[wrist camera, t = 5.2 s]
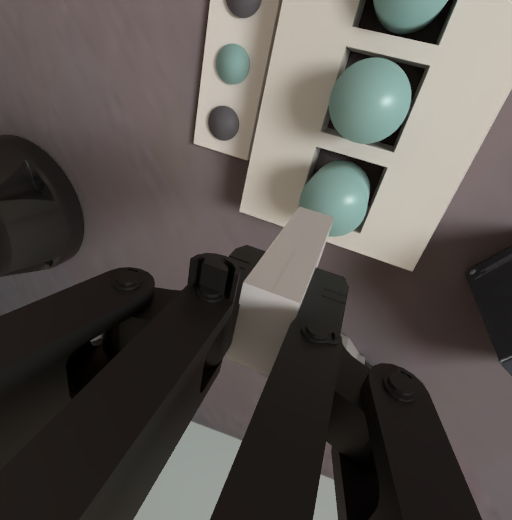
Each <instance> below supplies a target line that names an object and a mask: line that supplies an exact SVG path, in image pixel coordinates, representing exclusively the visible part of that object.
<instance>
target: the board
mask: <svg viewBox="0 0 512 520" xmlns="http://www.w3.org/2000/svg"><path fill="white" fill-rule="evenodd" d="M365 3H366V0H283V1H282V6H281V11H280V15H279V20H278V25H277V30H276V35H275V40H274V45H273V50H272V54H271V59H270V64H269V69H268V74H267V79H266V84H265V89H264V94H263V98H262V103H261V108H260V113H259V118H258V123H257V128H256V133H255V137H254V142H253V147H252V152H251V157H250V162H249V167H248V172H247V176H246V181H245V186H244V191H243V196H242V201H241V206H240V211H239V212H242V213H245V214H248V215H251V216H254V217H257V218H260V219H262V220H265V221H268V222H271V223H274V224H277V225H280V226H283V227H285V225H286V224H287V223H288V221H289V220H290V218H291V217H292V216H293V214H294V213H295V212H296V210H297V209H298V208H299V200H300V195H301V193H302V190H303V188H304V187H305V185H306V184H307V183H308V182H309V181H310V179H311V178H312V175H313V172H314V169H315V166H316V162H317V159H318V156H319V153H320V149H321V148H323V149H326V150H330V151H333V152H336V153H340V154H343V155H347V156H350V157H353V158H357V159H360V160H364V161H367V162H370V163H374V164H377V165H381V166H384V167H385V168H384V170H383V173H382V175H381V177H380V180H379V182H378V185H377V187H376V189H375V192H374V194H373V197H372V199H371V202H370V204H369V206H368V209H367V211H366V214H365V217H364V219H363V221H362V222H361V224H360V225H359V226H358V227H357V228H356V229H355V230H353V231H352V232H350V233H348V234H345V235H342V236H336V237H330V236H328V238H327V241H326V242H329V243H331V244H334V245H337V246H340V247H343V248H346V249H349V250H352V251H354V252H357V253H360V254H363V255H366V256H369V257H372V258H375V259H377V260H380V261H383V262H386V263H389V264H392V265H395V266H398V267H400V268H403V269H406V270H409V271H412V272H413V270H414V268H415V266H416V264H417V262H418V260H419V259H420V257H421V255H422V253H423V251H424V249H425V248H426V246H427V244H428V242H429V240H430V238H431V237H432V235H433V233H434V231H435V229H436V227H437V225H438V224H439V222H440V220H441V218H442V216H443V214H444V213H445V211H446V209H447V207H448V205H449V203H450V201H451V200H452V198H453V196H454V194H455V192H456V190H457V189H458V187H459V185H460V183H461V181H462V179H463V177H464V176H465V174H466V172H467V170H468V168H469V166H470V165H471V163H472V161H473V159H474V157H475V155H476V154H477V152H478V150H479V148H480V146H481V144H482V142H483V141H484V139H485V137H486V135H487V133H488V131H489V130H490V128H491V126H492V124H493V122H494V120H495V118H496V117H497V115H498V113H499V111H500V109H501V107H502V106H503V104H504V102H505V100H506V98H507V96H508V94H509V93H510V91H511V89H512V0H454V1H453V3H452V6H451V8H450V10H449V13H448V15H447V18H446V20H445V22H444V25H443V27H442V30H441V32H440V35H439V37H438V39H437V42H436V44H435V45H434V44H429V43H425V42H420V41H416V40H411V39H407V38H402V37H398V36H393V35H388V34H384V33H379V32H375V31H370V30H366V29H361V28H358V25H359V22H360V19H361V16H362V12H363V9H364V6H365ZM351 51H352V52H356V53H360V54H364V55H369V56H373V57H377V58H384V59H388V60H390V61H394V62H398V63H403V64H407V65H411V66H416V67H420V68H424V69H425V71H424V73H423V76H422V78H421V81H420V83H419V85H418V88H417V90H416V93H415V95H414V97H413V100H412V102H411V105H410V108H409V110H408V113H407V115H406V117H405V119H404V122H403V124H402V127H401V129H400V131H399V134H398V136H397V139H396V141H395V143H394V146H390V145H387V144H383V143H380V142H375V143H370V144H360V143H355V142H352V141H349V140H347V139H346V138H344V137H343V136H341V135H340V134H339V133H338V131H337V130H334V129H330V128H327V127H328V123H329V120H330V114H329V99H330V95H331V91H332V89H333V86H334V84H335V82H336V81H337V79H338V78H339V76H340V75H341V74H342V73H343V72H344V71H345V68H346V65H347V61H348V58H349V55H350V52H351Z"/></svg>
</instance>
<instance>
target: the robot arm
mask: <svg viewBox="0 0 512 520" xmlns="http://www.w3.org/2000/svg"><path fill="white" fill-rule="evenodd" d="M333 220H334V217H332V216H329V215H325V214H322V213H319V212H316V211H313V210H309V209H306V208H303V207H300V206H299V208H298V209H297V210H296V212H295V213H294V214H293V216H292V217H291V218H290V220H289V221H288V223H287V224H286V225H285V227H284V228H283V229H282V231H281V232H280V233H279V235H278V236H277V237H276V239H275V240H274V241H273V243H272V244H271V246H270V247H269V248H268V250H267V251H263V250H260V249H257V248H254V247H251V246H248V245H245V246H242V247H239V248H237V249H235V250H234V251H233V252H232V253H231V254H230V255H229V257H226V256H223V255H219V254H213V253H204V254H199V255H196V256H194V257H192V258H191V259H190V267H189V276H188V285H187V286H186V287H185V288H184V289H183V290H169V289H163V288H156V287H154V286H155V282H154V278H153V276H151V275H150V274H149V273H148V272H146V271H144V270H141V269H138V268H131V267H127V268H118V269H114V270H110V271H108V272H105V273H103V274H101V275H98V276H96V277H93V278H91V279H89V280H86V281H84V282H81V283H79V284H76V285H74V286H72V287H69V288H67V289H64V290H62V291H60V292H57V293H55V294H52V295H50V296H47V297H45V298H43V299H40V300H38V301H35V302H33V303H31V304H28V305H26V306H23V307H21V308H19V309H16V310H14V311H11V312H9V313H6V314H4V315H2V316H0V520H133V519H134V517H135V516H136V514H137V512H138V510H139V509H140V507H141V505H142V504H143V502H144V500H145V498H146V497H147V495H148V493H149V491H150V490H151V488H152V486H153V485H154V483H155V481H156V480H157V478H158V476H159V474H160V473H161V471H162V469H163V468H164V466H165V464H166V463H167V461H168V459H169V457H170V456H171V454H172V452H173V451H174V449H175V447H176V445H177V444H178V442H179V440H180V439H181V437H182V435H183V433H184V432H185V430H186V428H187V426H188V425H189V423H190V421H191V420H192V418H193V416H194V415H195V413H196V411H197V409H198V408H199V406H200V404H201V403H202V401H203V399H204V397H205V396H206V394H207V392H208V391H209V389H210V387H211V385H212V384H213V382H214V380H215V379H216V377H217V375H218V373H219V371H220V368H221V364H222V359H223V357H224V355H225V354H226V352H227V350H228V349H229V351H228V355H227V359H228V360H231V361H233V362H236V363H238V364H240V365H243V366H245V367H248V368H250V369H252V370H255V371H257V372H259V373H262V374H264V375H267V376H269V377H268V380H267V382H266V384H265V387H264V389H263V392H262V394H261V397H260V399H259V401H258V404H257V406H256V409H255V411H254V414H253V416H252V419H251V421H250V423H249V426H248V428H247V431H246V433H245V436H244V438H243V441H242V443H241V445H240V448H239V450H238V453H237V455H236V458H235V460H234V463H233V465H232V467H231V470H230V472H229V475H228V478H227V480H226V482H225V484H224V487H223V489H222V492H221V494H220V497H219V499H218V502H217V504H216V506H215V509H214V511H213V514H212V516H211V519H210V520H313V515H314V509H315V503H316V497H317V491H318V485H319V479H320V474H321V468H322V462H323V456H324V450H325V444H326V441H327V442H328V443H329V444H331V445H332V449H331V453H332V463H333V473H334V483H335V493H336V502H337V511H338V520H482V518H481V516H480V513H479V511H478V509H477V506H476V504H475V502H474V499H473V497H472V494H471V492H470V490H469V487H468V485H467V483H466V480H465V478H464V475H463V473H462V471H461V468H460V466H459V464H458V461H457V459H456V456H455V454H454V452H453V449H452V447H451V444H450V442H449V440H448V437H447V435H446V433H445V430H444V428H443V425H442V423H441V421H440V418H439V416H438V414H437V411H436V409H435V406H434V404H433V402H432V399H431V397H430V395H429V393H428V391H427V390H426V388H425V386H424V385H423V383H422V382H421V381H420V380H418V379H417V378H416V377H415V376H414V375H413V374H412V373H410V372H408V371H407V370H405V369H404V368H401V367H399V366H396V365H393V364H385V363H381V364H378V365H375V366H373V367H372V369H370V368H369V367H367V366H366V365H364V364H363V363H361V362H360V361H358V360H357V359H356V358H354V357H353V356H352V355H351V354H350V353H349V352H348V351H347V350H346V348H345V347H344V345H343V343H342V336H341V335H340V333H341V327H342V322H343V316H344V311H345V304H346V300H347V294H348V289H349V286H348V284H347V282H346V280H345V278H344V277H342V276H339V275H336V274H333V273H330V272H327V271H324V270H322V269H319V268H317V267H318V264H319V261H320V258H321V255H322V252H323V249H324V246H325V244H326V241H327V238H328V235H329V232H330V229H331V226H332V223H333ZM83 234H84V222H83V215H82V210H81V207H80V203H79V200H78V198H77V195H76V193H75V191H74V189H73V187H72V185H71V183H70V181H69V180H68V178H67V177H66V175H65V174H64V172H63V171H62V169H61V168H60V167H59V166H58V164H57V163H56V162H55V161H54V160H53V159H52V158H51V157H50V156H49V155H48V154H47V153H46V152H45V151H43V150H42V149H41V148H39V147H38V146H37V145H35V144H33V143H32V142H30V141H28V140H26V139H23V138H21V137H17V136H12V135H2V136H0V277H3V276H9V275H15V274H21V273H27V272H33V271H39V270H45V269H50V268H52V267H55V266H57V265H59V264H61V263H63V262H65V261H67V260H69V259H70V258H72V257H73V256H74V255H75V254H76V253H77V252H78V250H79V248H80V246H81V243H82V240H83ZM99 335H101V338H100V339H98V340H96V341H93V342H90V340H92V339H94V338H95V337H97V336H99Z"/></svg>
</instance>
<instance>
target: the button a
mask: <svg viewBox="0 0 512 520" xmlns="http://www.w3.org/2000/svg"><path fill="white" fill-rule="evenodd" d="M369 194H370V183H369V179H368V176H367V175H366V173H365V172H364V170H363V169H362V168H361V167H360V166H358V165H357V164H355V163H353V162H350V161H346V160H337V161H332V162H330V163H327V164H326V165H324V166H323V167H321V168H320V169H319V170H318V171H317V173H316V174H315V175H314V176H313V177H312V178H311V179H310V181H309V182H308V183H307V184H306V185H305V187H304V188H303V190H302V193H301V195H300V200H299V206H300V207H303V208H306V209H309V210H313V211H316V212H319V213H322V214H325V215H329V216H332V217H334V220H333V223H332V226H331V229H330V232H329V235H328V236H330V237H336V236H342V235H345V234H348V233H350V232H352V231H353V230H355V229H356V228H357V227H358V226H359V225H360V224H361V222H362V221H363V219H364V217H365V214H366V211H367V205H368V200H369Z"/></svg>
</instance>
